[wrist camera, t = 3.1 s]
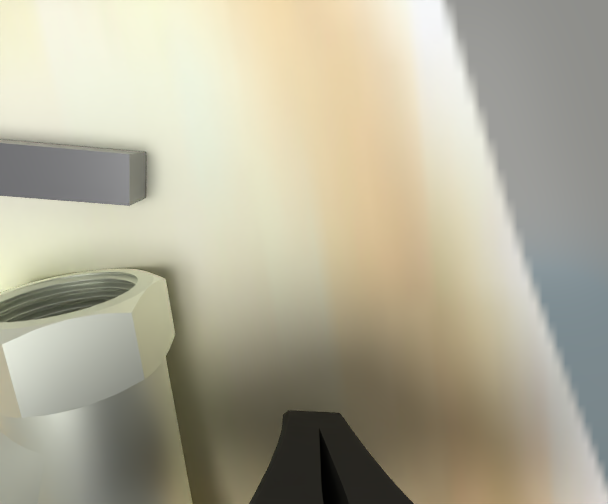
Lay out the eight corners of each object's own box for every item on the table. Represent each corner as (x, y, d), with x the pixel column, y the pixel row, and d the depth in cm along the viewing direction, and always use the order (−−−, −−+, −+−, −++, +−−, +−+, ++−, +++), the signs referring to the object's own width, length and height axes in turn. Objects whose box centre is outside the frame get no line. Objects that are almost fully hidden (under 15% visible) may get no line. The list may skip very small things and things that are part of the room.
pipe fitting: (-13, 553, 13) (223, 538, 13) (-145, 722, 9) (186, 706, 9) (-99, 284, 11) (177, 260, 11) (-309, 361, 7) (106, 326, 7)
